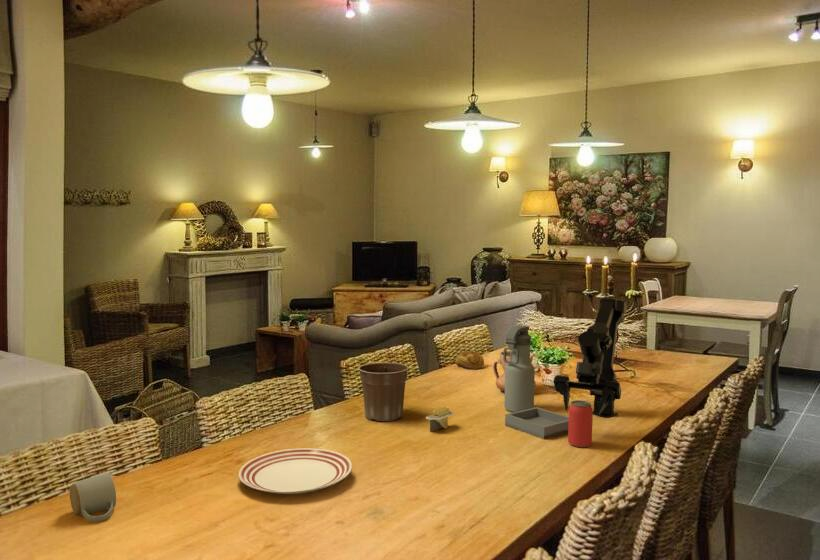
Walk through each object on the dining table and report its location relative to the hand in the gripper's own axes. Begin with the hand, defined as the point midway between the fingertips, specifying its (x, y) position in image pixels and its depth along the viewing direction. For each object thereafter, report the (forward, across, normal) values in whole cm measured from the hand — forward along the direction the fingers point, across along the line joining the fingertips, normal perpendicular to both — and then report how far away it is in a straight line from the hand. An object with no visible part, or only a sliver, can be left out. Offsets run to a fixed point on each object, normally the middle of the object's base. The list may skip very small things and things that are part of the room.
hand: (581, 411), depth 196 cm
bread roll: (-48, -65, +60) cm, 101 cm away
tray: (+1, -14, +12) cm, 19 cm away
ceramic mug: (+74, -84, -60) cm, 127 cm away
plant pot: (+9, -63, +4) cm, 63 cm away
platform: (+12, -41, +2) cm, 43 cm away
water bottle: (-11, -26, +24) cm, 37 cm away
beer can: (+8, 0, +6) cm, 9 cm away
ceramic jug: (-27, -35, +39) cm, 59 cm away
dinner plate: (+49, -56, -35) cm, 82 cm away
